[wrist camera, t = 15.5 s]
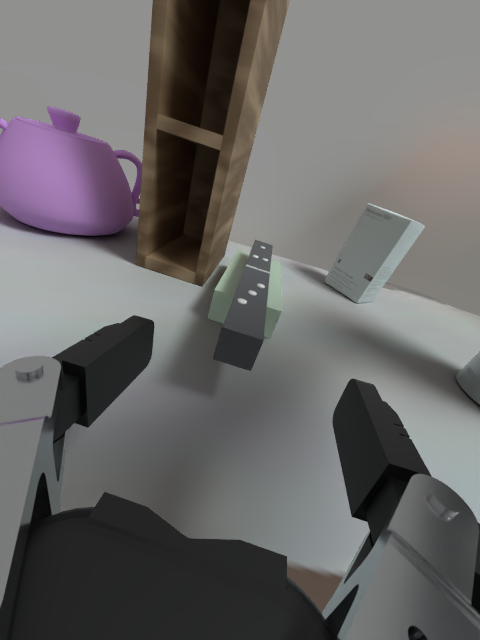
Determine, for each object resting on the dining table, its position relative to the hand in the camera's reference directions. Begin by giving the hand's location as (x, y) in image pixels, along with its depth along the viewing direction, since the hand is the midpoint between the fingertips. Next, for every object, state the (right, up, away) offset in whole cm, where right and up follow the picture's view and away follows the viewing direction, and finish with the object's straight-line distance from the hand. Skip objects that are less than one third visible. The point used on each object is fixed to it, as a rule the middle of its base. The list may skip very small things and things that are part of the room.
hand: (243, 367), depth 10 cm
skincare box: (+21, +7, +38) cm, 43 cm away
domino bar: (+1, +5, +17) cm, 17 cm away
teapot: (-27, +18, +30) cm, 44 cm away
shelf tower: (-8, +11, +29) cm, 32 cm away
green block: (+1, +5, +23) cm, 24 cm away
